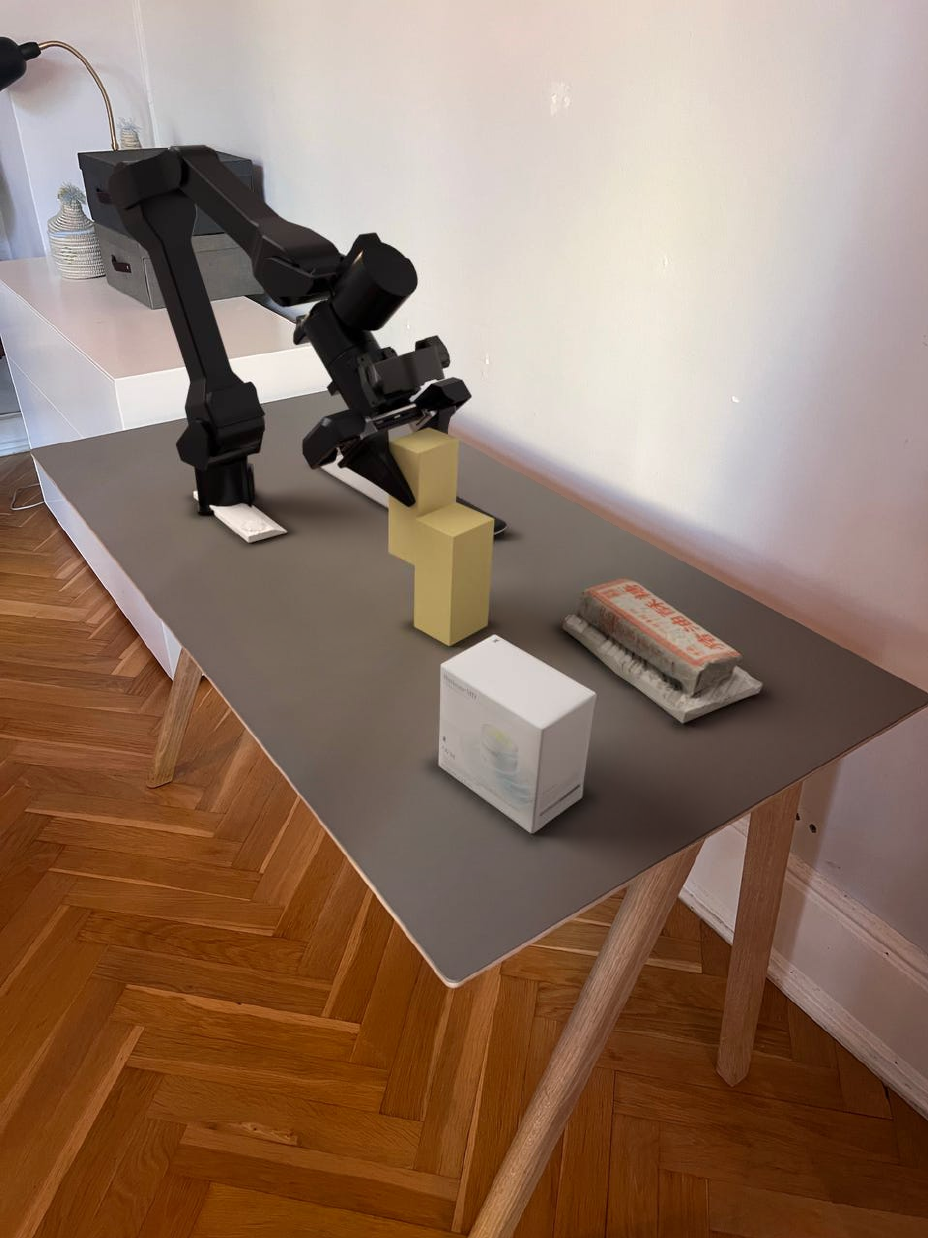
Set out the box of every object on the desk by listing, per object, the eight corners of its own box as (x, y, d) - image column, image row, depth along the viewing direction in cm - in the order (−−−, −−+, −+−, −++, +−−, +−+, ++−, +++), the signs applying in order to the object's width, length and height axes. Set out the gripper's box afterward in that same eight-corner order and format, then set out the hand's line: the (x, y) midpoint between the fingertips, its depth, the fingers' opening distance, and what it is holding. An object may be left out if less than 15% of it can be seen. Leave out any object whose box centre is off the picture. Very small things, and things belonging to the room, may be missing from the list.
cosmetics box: (434, 768, 74) (437, 661, 68) (489, 734, 78) (496, 631, 72) (530, 838, 68) (542, 727, 62) (585, 797, 71) (601, 690, 66)
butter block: (413, 626, 92) (415, 518, 85) (452, 607, 95) (456, 501, 89) (449, 646, 89) (453, 536, 82) (487, 625, 92) (494, 518, 86)
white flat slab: (230, 489, 118) (230, 481, 117) (287, 533, 108) (286, 525, 107) (193, 497, 115) (192, 489, 114) (247, 543, 105) (247, 535, 105)
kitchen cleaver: (315, 458, 125) (376, 436, 130) (317, 469, 126) (377, 447, 131) (451, 546, 105) (518, 517, 109) (452, 559, 106) (518, 529, 110)
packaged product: (563, 588, 90) (639, 566, 94) (558, 630, 92) (633, 606, 97) (691, 683, 77) (773, 651, 82) (682, 728, 79) (761, 695, 84)
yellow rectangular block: (388, 553, 92) (388, 441, 86) (425, 535, 96) (428, 426, 90) (416, 567, 90) (419, 452, 84) (454, 548, 94) (459, 438, 88)
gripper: (317, 326, 77) (410, 486, 77) (462, 294, 89) (542, 432, 89) (264, 394, 85) (347, 539, 85) (403, 357, 97) (476, 483, 97)
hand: (433, 496), depth 89 cm, fingers closed on yellow rectangular block, 5 cm apart
